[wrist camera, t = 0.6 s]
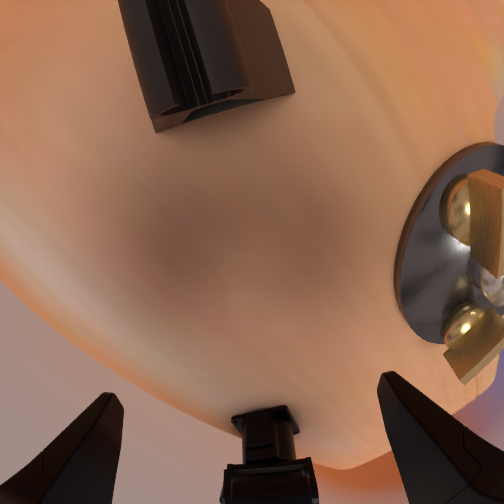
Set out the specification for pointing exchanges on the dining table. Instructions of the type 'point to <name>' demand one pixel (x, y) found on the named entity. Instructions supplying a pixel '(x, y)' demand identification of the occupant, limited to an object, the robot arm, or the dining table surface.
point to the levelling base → (454, 241)
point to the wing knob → (471, 338)
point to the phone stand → (203, 56)
